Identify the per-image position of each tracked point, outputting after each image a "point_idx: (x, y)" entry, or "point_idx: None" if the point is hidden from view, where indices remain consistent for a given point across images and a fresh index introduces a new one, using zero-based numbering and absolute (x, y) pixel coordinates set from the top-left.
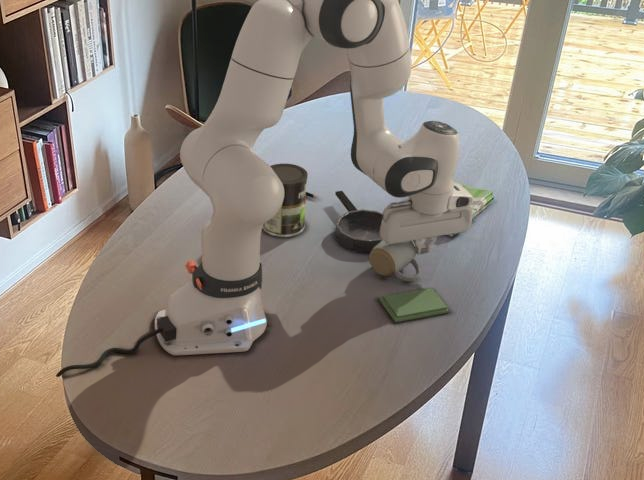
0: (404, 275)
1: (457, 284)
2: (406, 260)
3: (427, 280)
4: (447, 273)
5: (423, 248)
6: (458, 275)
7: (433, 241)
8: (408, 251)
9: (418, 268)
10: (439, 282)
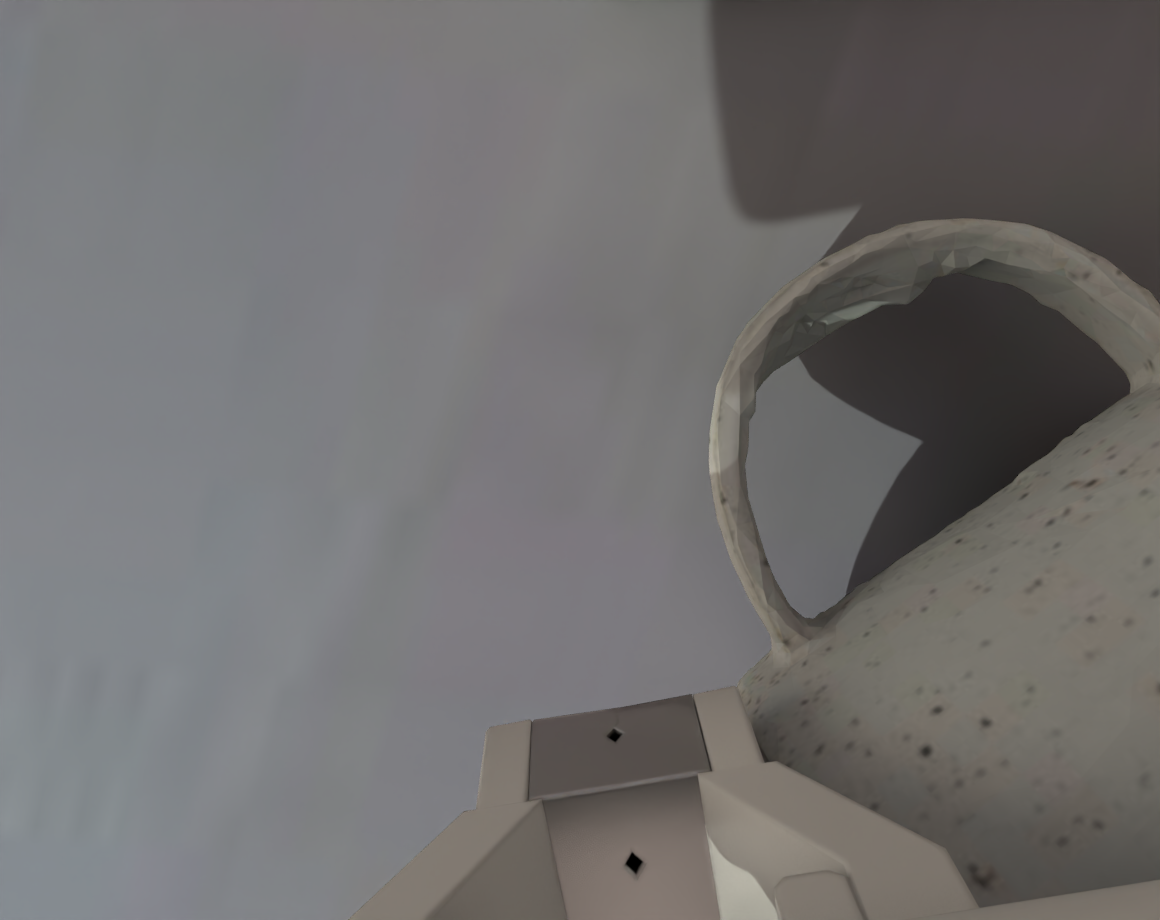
0: (1056, 256)
1: (125, 137)
2: (1000, 550)
3: (574, 300)
4: (220, 447)
5: (646, 770)
6: (61, 379)
7: (404, 903)
8: (1014, 703)
9: (740, 428)
10: (402, 226)
